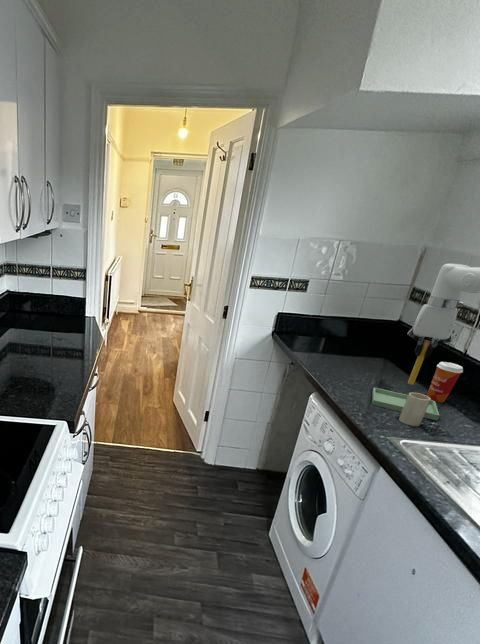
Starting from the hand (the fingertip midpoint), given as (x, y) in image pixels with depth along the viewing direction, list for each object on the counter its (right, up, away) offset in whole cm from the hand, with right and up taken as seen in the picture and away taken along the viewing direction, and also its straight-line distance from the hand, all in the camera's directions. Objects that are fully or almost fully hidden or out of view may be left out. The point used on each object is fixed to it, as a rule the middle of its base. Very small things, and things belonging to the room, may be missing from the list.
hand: (421, 355), depth 142 cm
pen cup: (-9, -23, -5) cm, 25 cm away
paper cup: (+16, -16, +14) cm, 27 cm away
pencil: (-1, -10, +4) cm, 11 cm away
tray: (-1, -17, +8) cm, 19 cm away
